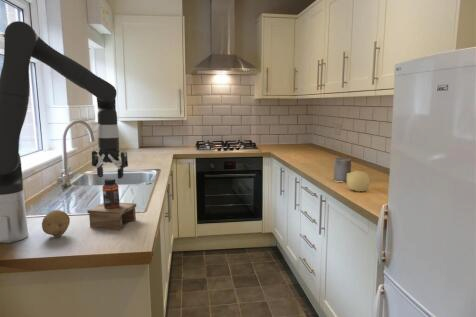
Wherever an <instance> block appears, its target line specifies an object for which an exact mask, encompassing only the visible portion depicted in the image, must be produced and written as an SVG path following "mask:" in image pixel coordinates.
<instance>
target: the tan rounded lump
mask: <svg viewBox="0 0 476 317" xmlns="http://www.w3.org/2000/svg"><path fill="white" fill-rule="evenodd" d="M368 175H369V173H367V172H365V171H360V170H354V171H351V173H347V183H346V186H347V188H348V189H349V190H350V189H351V190H350V191H353V190H355V192H360V191H361V192H365V191H367V190H368V189H369V187H370V183H371V182H370V178H369V176H368Z"/></svg>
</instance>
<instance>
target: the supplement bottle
mask: <svg viewBox="0 0 476 317" xmlns="http://www.w3.org/2000/svg"><path fill="white" fill-rule="evenodd" d="M103 181H104V184H103V185H102V199H103V201H102V203H104V208H108V209H111V208H116V207H118V206H119V205H120V203H121V201H120V190H119V185H118V183H116V178H114V177H109V178H105V179H104V180H103Z"/></svg>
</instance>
